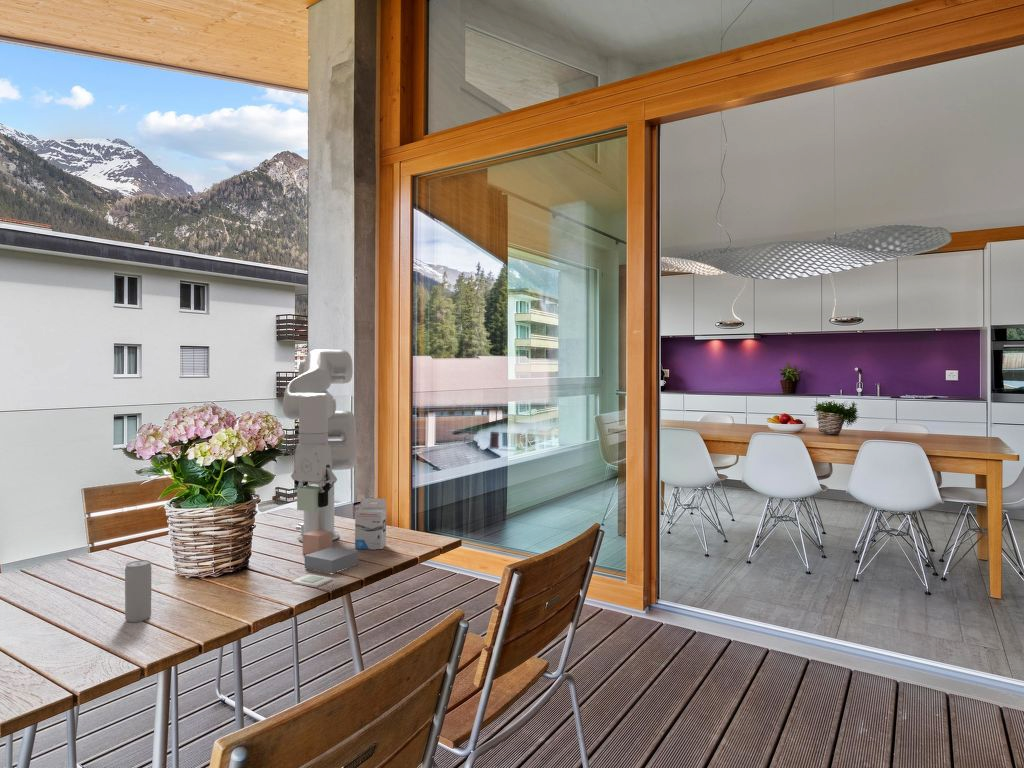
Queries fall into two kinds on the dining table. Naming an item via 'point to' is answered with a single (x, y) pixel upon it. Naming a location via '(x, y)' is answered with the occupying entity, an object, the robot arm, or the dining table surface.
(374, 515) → the ink box
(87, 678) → the dining table surface
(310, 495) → the sage cube
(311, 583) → the card
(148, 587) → the beverage can
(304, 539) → the brick cube
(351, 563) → the slate base block
